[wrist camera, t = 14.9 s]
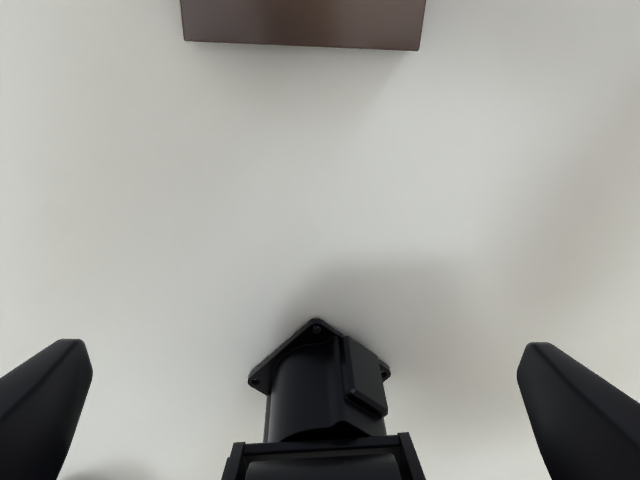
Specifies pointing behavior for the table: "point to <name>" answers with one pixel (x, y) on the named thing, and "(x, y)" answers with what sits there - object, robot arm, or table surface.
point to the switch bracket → (306, 22)
